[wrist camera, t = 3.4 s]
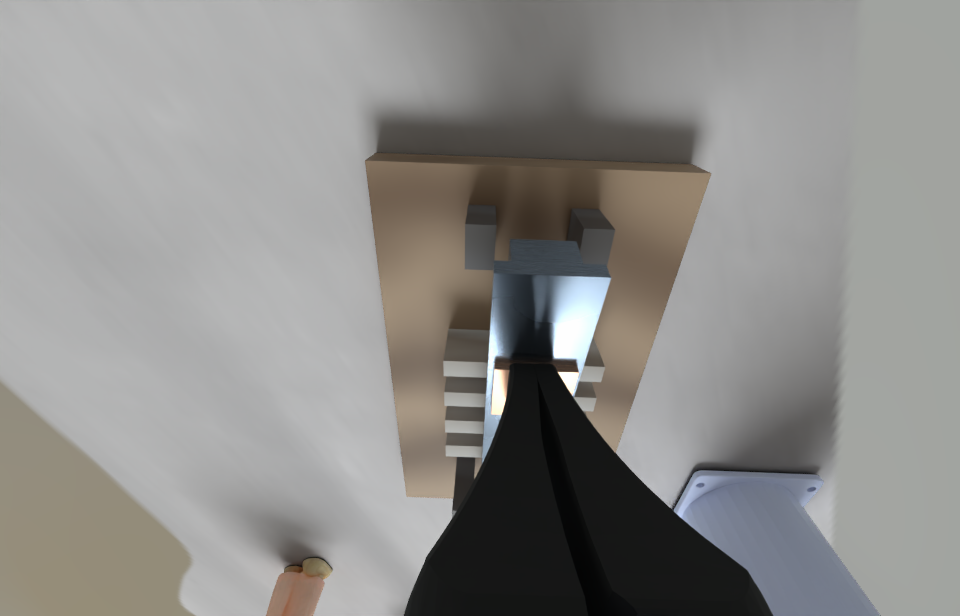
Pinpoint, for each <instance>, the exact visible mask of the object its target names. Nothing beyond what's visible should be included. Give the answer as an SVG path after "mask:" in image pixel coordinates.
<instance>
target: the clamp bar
mask: <svg viewBox="0 0 960 616" xmlns="http://www.w3.org/2000/svg"><path fill="white" fill-rule="evenodd" d="M610 280H611V276H610V273H609V271H608V268H607V266H606V264H584V263H583V260H582V257H581V254H580V251H579V248H578V245H577V242H576V241H555V240H528V239H510V244H509V255H508V261H499V260H494V265H493V281H492V298H491V314H490V331H489V347H488V364H487V380H486V397H485V413H484V430H483V446H482V463H483V461H484V459H485V457H486V454H487V452H488V450H489V447H490V445H491V443H492V440H493V438H494V435H495V432H496V429H497V427H498V424H499V421H500V418H501V415H502V412H503V408H504V404H505V401H506V396H507V386H508V376H509V365H511V364H512V363H535V364H553V365H554V366H555V367H556V369H557V371H558V373H559V375H560V376H561V378H562V380H563V381H564V383H565V385H566V386H567V388H568V390H569V391H570V393H571V394H572V396H573V397H574V395H575V392H576V389H577V386H578V383H579V379H580V376H581V373H582V370H583V367H584V363H585V360H586V357H587V354H588V351H589V347H590V344H591V341H592V338H593V335H594V331H595V328H596V325H597V322H598V319H599V315H600V312H601V309H602V306H603V302H604V299H605V296H606V293H607V290H608V286H609V283H610ZM482 463H481V465H482Z"/></svg>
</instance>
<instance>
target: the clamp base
mask: <svg viewBox="0 0 960 616" xmlns="http://www.w3.org/2000/svg"><path fill="white" fill-rule="evenodd" d="M365 164H366V172H367V180H368V188H369V197H370V205H371V213H372V221H373V229H374V237H375V245H376V253H377V261H378V269H379V277H380V286H381V294H382V302H383V310H384V318H385V326H386V334H387V342H388V350H389V358H390V366H391V375H392V383H393V391H394V399H395V407H396V415H397V423H398V431H399V439H400V447H401V455H402V464H403V472H404V480H405V488H406V496H407V497H426V498H452V499H453V509H452V518H453V516H454V515H455V513H456V511H457V509H458V508H459V506H460V504H461V503H462V501H463V499H464V498H465V496H466V494H467V492H468V491H469V489H470V487H471V485H472V483H473V481H474V479H475V477H476V475H477V473H478V471H479V469H480V467H481V463H482V446H483V430H484V413H485V397H486V380H487V364H488V347H489V331H490V314H491V298H492V281H493V265H494V260H499V261H508V255H509V244H510V239H528V240H555V241H576V242H577V245H578V248H579V251H580V254H581V257H582V260H583V263H584V264H606V266H607V268H608V271H609V273H610V276H611V280H610V283H609V286H608V290H607V293H606V296H605V299H604V302H603V306H602V309H601V312H600V315H599V319H598V322H597V325H596V328H595V331H594V335H593V338H592V341H591V344H590V347H589V351H588V354H587V357H586V360H585V363H584V367H583V370H582V373H581V376H580V379H579V383H578V386H577V389H576V392H575V395H574V399H575V400H576V402H577V403H578V405H579V406H580V408H581V409H582V411H583V412H584V413H585V415H586V416H587V418H588V419H589V420H590V422H591V423H592V424H593V426H594V427H595V428H596V430H597V431H598V432H599V434H600V435H601V436H602V437H603V439H604V440H605V441H606V442H607V444H608V445H609V446H610V447H611V448H612V450H613V451H614V452H615V453H616V450H617V447H618V444H619V442H620V439H621V436H622V433H623V430H624V427H625V424H626V421H627V418H628V415H629V412H630V409H631V406H632V404H633V401H634V398H635V395H636V392H637V389H638V386H639V383H640V380H641V377H642V374H643V371H644V369H645V366H646V363H647V360H648V357H649V354H650V351H651V348H652V345H653V342H654V339H655V336H656V334H657V331H658V328H659V325H660V322H661V319H662V316H663V313H664V310H665V307H666V304H667V301H668V298H669V296H670V293H671V290H672V287H673V284H674V281H675V278H676V275H677V272H678V269H679V266H680V263H681V261H682V258H683V255H684V252H685V249H686V246H687V243H688V240H689V237H690V234H691V231H692V228H693V226H694V223H695V220H696V217H697V214H698V211H699V208H700V205H701V202H702V199H703V196H704V193H705V190H706V188H707V185H708V182H709V179H710V176H711V173H709V172H707V171H705V170H703V169H701V168H699V167H696V166H694V165H692V164H669V163H642V162H614V161H587V160H560V159H533V158H506V157H478V156H451V155H424V154H397V153H375V154H374V155H372V156H371V157H369V158H368V159H367V160H365Z"/></svg>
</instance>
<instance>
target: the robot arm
mask: <svg viewBox="0 0 960 616" xmlns="http://www.w3.org/2000/svg"><path fill="white" fill-rule="evenodd" d="M823 483H824V481H823V480H822V479H821V477H820V476H818V475H813V474H787V473H761V472H734V471H708V470H700V471H697V472H695V473H694V474H693V475H692V477H691V479H690V481H689V483H688V485H687V487H686V489H685V490H684V492H683V494H682V496H681V498H680V500H679V502H678V503H677V505H676V507H675V509H674V511H673V510H672V509H671V508H669V507H668V506H667V505H666V504H665V503H664V502H663V501H662V500H661V499H660V498H659V497H658V496H657V495H655V494H654V493H653V492H652V491H651V490H650V489H649V488H648V487H647V486H646V485H645V484H644V483H643V482H642V481H641V480H640V479H639V478H638V477H637V476H636V475H635V474H634V473H633V472H632V471H631V470H630V469H629V467H628V466H627V465H626V464H625V463H624V462H623V461H622V460H621V459H620V458H619V456H618V455H617V454H616V453H615V452H614V451H613V450H612V448H611V447H610V446H609V445H608V444H607V442H606V441H605V440H604V439H603V437H602V436H601V435H600V434H599V432H598V431H597V430H596V428H595V427H594V426H593V424H592V423H591V422H590V420H589V419H588V418H587V416H586V415H585V413H584V412H583V411H582V409H581V408H580V406H579V405H578V403H577V402H576V400H575V399H574V397H573V396H572V394H571V393H570V391H569V390H568V388H567V386H566V385H565V383H564V381H563V380H562V378H561V376H560V375H559V373H558V371H557V369H556V367H555V366H554V365H553V364H535V363H512V364H511V365H509V376H508V386H507V396H506V401H505V404H504V408H503V412H502V415H501V418H500V421H499V424H498V427H497V429H496V432H495V435H494V438H493V440H492V443H491V445H490V447H489V450H488V452H487V454H486V457H485V459H484V461H483V463H482V465H481V467H480V469H479V471H478V473H477V475H476V477H475V479H474V481H473V483H472V485H471V487H470V489H469V491H468V492H467V494H466V496H465V498H464V499H463V501H462V503H461V504H460V506H459V508H458V509H457V511H456V513H455V515H454V516H453V518H452V520H451V521H450V523H449V524H448V526H447V528H446V529H445V530H444V532H443V533H442V535H441V536H440V538H439V539H438V541H437V542H436V544H435V545H434V547H433V548H432V550H431V551H430V553H429V554H428V556H427V557H426V560H425V562H424V565H423V567H422V569H421V571H420V574H419V576H418V578H417V581H416V583H415V585H414V588H413V590H412V593H411V595H410V598H409V601H408V604H407V607H406V610H405V614H404V616H881V615H880V614H879V612H878V611H877V610H876V608H875V607H874V605H873V604H872V603H871V601H870V600H869V598H868V597H867V596H866V594H865V593H864V592H863V590H862V589H861V588H860V586H859V585H858V583H857V582H856V580H855V579H854V578H853V576H852V575H851V573H850V572H849V571H848V569H847V568H846V566H845V565H844V564H843V562H842V561H841V559H840V558H839V557H838V555H837V554H836V553H835V551H834V550H833V548H832V547H831V546H830V544H829V543H828V541H827V540H826V539H825V537H824V536H823V534H822V533H821V532H820V530H819V529H818V527H817V526H816V525H815V523H814V522H813V520H812V519H811V518H810V516H809V515H808V514H807V512H806V511H805V509H804V508H803V507H804V506H805V505H806V504H807V503H808V502H809V500H810V499H811V498H812V497H813V496H814V495H815V493H816V492H817V491H818V490H819V489H820V488H821V486H822V485H823Z"/></svg>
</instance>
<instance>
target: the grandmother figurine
mask: <svg viewBox="0 0 960 616" xmlns="http://www.w3.org/2000/svg"><path fill="white" fill-rule="evenodd" d="M331 573H332V569H331V567H330V566H329V565H328V564H327V563H326V562H325V561H323V560H321V559H319V558H308V559H306V560H304V561H303V568H302V567H299V566H289V567H287V568H285V570H284V573H282V574H280V575H279V577H278V580H277V582H276V585H275V588H274V591H273V594H272V597H271V601H270V604H269V607H268V611H267V614H266V616H313V614H314V612H315V609H316V606H317V603H318V600H319V598H320V595H321V592H322V590H323V587H324V581H323V579H325V578H327V577H328V576H329V575H330V574H331Z"/></svg>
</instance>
